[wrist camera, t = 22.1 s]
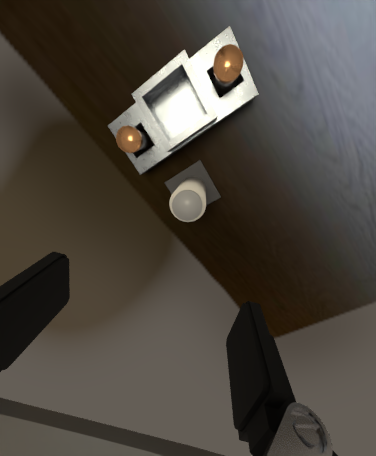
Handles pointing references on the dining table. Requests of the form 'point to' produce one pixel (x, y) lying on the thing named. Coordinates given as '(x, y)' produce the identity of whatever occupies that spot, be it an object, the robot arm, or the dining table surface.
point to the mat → (201, 173)
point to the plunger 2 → (227, 67)
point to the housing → (183, 103)
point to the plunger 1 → (132, 139)
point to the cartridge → (189, 200)
